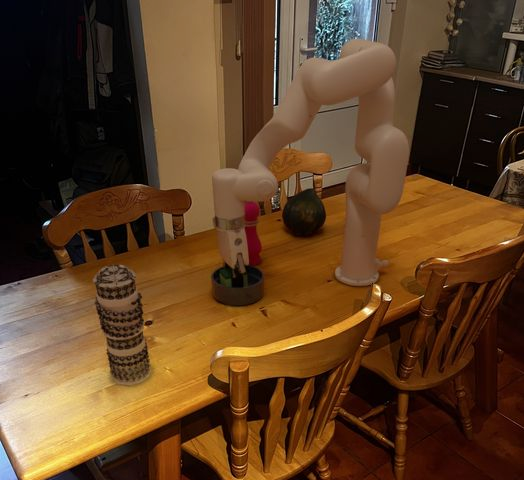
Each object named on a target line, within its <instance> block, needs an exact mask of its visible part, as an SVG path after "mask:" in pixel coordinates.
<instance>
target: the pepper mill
mask: <svg viewBox="0 0 524 480" xmlns="http://www.w3.org/2000/svg"><path fill="white" fill-rule="evenodd" d="M244 202H245V225H246V226H245V228H244V229H245V233H246V238H247V246H248V257H249V264H248V265H252V266H256V265H258V264H260V262H261V255H260V254H261V253H262V250H263V246H262V242H261V239H260V237H259V235H258V232H257V225H258V224H259V218H258V217H259V216H260V214H261V210H260V206H259V205H258V203H256V202H254V201H244Z"/></svg>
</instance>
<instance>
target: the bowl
mask: <svg viewBox="0 0 524 480" xmlns="http://www.w3.org/2000/svg"><path fill="white" fill-rule="evenodd" d="M235 265H238V264H237V263H236V264H235ZM244 267H245V270H246V271H247V281H248V286H247V287H240V288H234V287H226V286H223V285H220V271H219V270H222V269H226V268H224V267H223V265H222V266H219V267H218V268H216V269H214V271H212V273H211V275H210V280H211V281H210V283H211V295H212V297H213V298H214V299H215V300H217V301H218V302H219V303H221V304H224V305H227V306H233V307H240V306H241V307H242V306H243V307H244V306H248V305H251V304H255V303H256V302H258V301H259V300H261V298H263V297H264V295H265V273H264V271H263V270H262V269H261V268H259V267H257V266H256V265H253V266H252V265H247V266H246V265H245V264H244Z"/></svg>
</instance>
